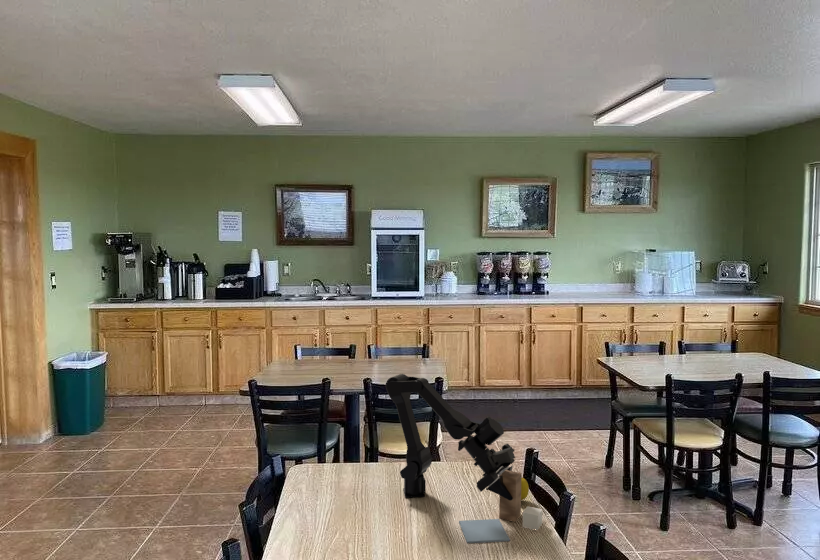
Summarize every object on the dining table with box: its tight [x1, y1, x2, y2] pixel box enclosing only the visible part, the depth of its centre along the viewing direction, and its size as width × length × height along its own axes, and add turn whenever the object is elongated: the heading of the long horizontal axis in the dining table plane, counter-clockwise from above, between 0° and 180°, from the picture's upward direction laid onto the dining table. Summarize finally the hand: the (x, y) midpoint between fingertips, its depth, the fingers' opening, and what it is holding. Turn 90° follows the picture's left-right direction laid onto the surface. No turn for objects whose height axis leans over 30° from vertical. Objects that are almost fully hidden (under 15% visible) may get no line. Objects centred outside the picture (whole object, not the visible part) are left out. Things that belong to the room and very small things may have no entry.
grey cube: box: [522, 505, 543, 531], centre depth 167 cm, size 4×4×4 cm
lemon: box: [521, 476, 530, 501], centre depth 183 cm, size 6×6×8 cm
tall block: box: [498, 470, 522, 523], centre depth 173 cm, size 5×5×13 cm
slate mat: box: [458, 518, 511, 544], centre depth 164 cm, size 12×12×1 cm
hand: (514, 496), depth 172 cm, fingers closed on tall block, 5 cm apart
